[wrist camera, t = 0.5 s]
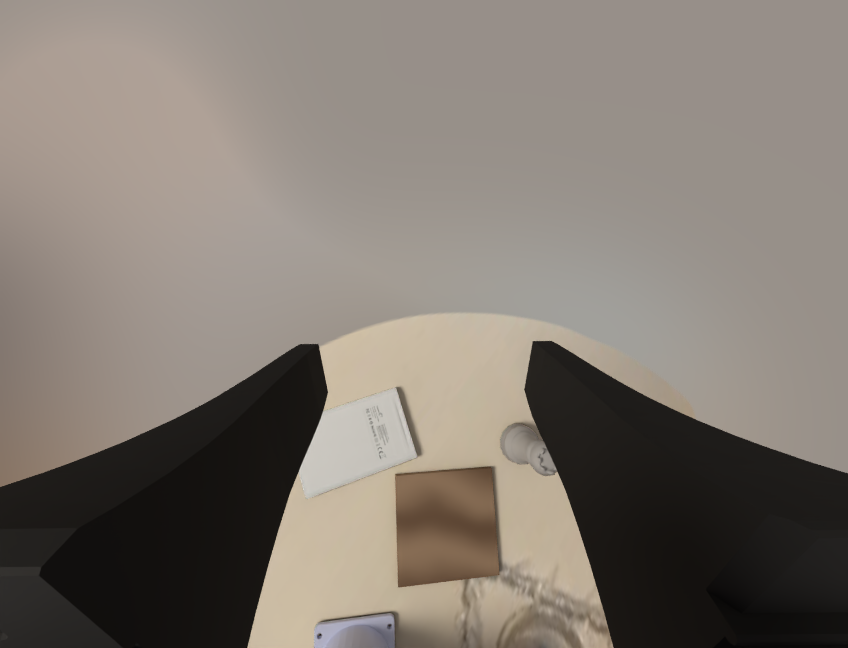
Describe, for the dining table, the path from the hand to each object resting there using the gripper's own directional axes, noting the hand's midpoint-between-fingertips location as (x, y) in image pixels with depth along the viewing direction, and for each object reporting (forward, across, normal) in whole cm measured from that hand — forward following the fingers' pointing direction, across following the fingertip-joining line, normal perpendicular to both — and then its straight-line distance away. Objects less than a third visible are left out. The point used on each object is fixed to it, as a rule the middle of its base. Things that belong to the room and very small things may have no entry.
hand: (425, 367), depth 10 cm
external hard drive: (+17, +8, +22) cm, 29 cm away
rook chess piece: (+18, -11, +24) cm, 31 cm away
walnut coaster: (+12, -2, +29) cm, 32 cm away
